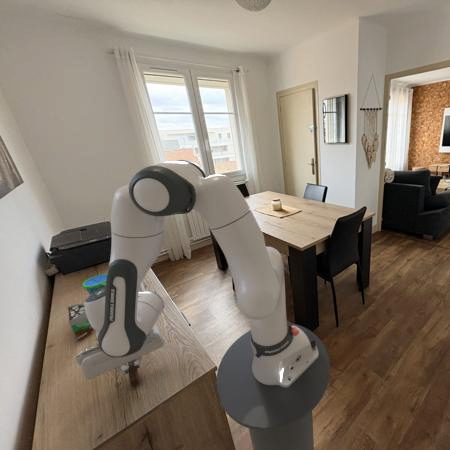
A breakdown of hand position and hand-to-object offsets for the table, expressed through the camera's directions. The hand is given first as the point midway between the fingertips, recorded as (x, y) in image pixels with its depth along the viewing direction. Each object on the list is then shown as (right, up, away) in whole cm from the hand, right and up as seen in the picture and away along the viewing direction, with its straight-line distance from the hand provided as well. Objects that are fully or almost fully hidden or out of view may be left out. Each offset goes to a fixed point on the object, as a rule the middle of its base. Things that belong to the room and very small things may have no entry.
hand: (133, 369), depth 76 cm
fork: (-1, 0, +2) cm, 3 cm away
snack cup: (-42, +10, +40) cm, 59 cm away
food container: (-33, +3, +21) cm, 39 cm away
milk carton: (-20, +9, +33) cm, 40 cm away
